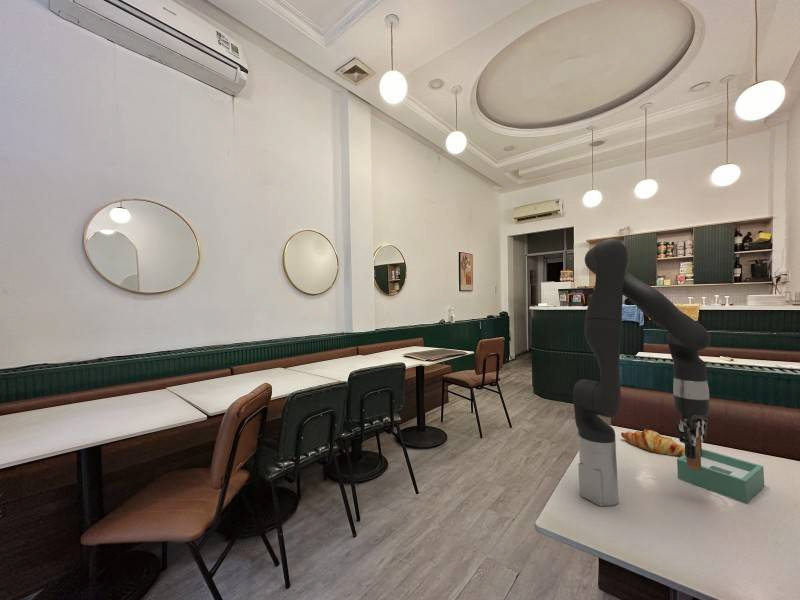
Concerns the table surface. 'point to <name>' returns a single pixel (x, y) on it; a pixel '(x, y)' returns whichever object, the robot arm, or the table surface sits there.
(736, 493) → the box
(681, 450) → the croissant
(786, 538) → the table surface
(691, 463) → the peg
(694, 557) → the table surface
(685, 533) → the table surface
